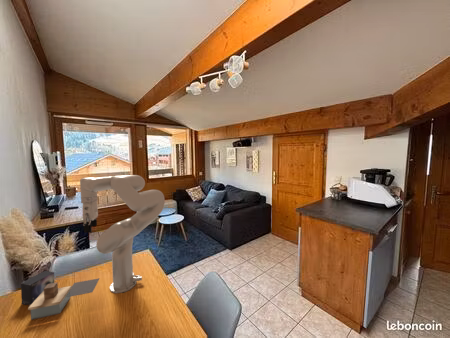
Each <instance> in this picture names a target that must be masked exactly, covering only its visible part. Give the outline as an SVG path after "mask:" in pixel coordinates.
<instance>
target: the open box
mask: <svg viewBox="0 0 450 338" xmlns="http://www.w3.org/2000/svg"><path fill="white" fill-rule="evenodd" d="M69 300H71V297H70V291H69V292H68V293H67V295H66V296H65V298H64V299H63V301H62V302H61V303H60V304H57V305H52V306H47V307H42V308H37V309H32V310H30V320H31V321H32V320H36V319H40V318H41V319H42V318H45V317H51V316H55V315H60V314H61V312H62V311H63V310H64V308H65V306H66V305H67V304H68V302H69Z"/></svg>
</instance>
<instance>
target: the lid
mask: <svg viewBox="0 0 450 338" xmlns="http://www.w3.org/2000/svg"><path fill="white" fill-rule="evenodd" d="M71 287H72V285H69V286H64V287H59V285H58V282H54V283H50V284H48V285H47V286H46V287H45V288H44V291H43V292H42V293H41V294H40V295H39V296H38V298H37V299H36V300H35V301H34V302H33V303H32V304H31V305H28V308H27V311H31V310H32V309H37V308H42V307H47V306H52V305H57V304H60V303H61V302H62V301H63V299H64V298H65V296H66V295H67V293H68V292H69V291H70V289H71Z"/></svg>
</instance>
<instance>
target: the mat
mask: <svg viewBox="0 0 450 338" xmlns="http://www.w3.org/2000/svg"><path fill="white" fill-rule="evenodd" d="M99 280H100V278H99V277H98V278H94V279H89V280H82V281H77V282H73V284H72V285H71V289H70V298H71V297H77V296H79V295H80V296H81V295H85V294H89V293H90V294H92V293H93V292H94V290H95V289H96V286H97V284H98V282H99Z"/></svg>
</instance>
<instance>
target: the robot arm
mask: <svg viewBox="0 0 450 338" xmlns="http://www.w3.org/2000/svg"><path fill="white" fill-rule="evenodd" d="M79 184H80V185H79V187H80V203H81V204H82V221H83V222H82V224H83V232H84V233H91V232H92V227H97V226H98V222H97V219H98V217H99V210H98V209H99V207H98V192H103V191H108V190H112V191H114V192H115V194H116V195H118V197H119V198H120V200H121V201H122V202H123V203H125V205H126V206H127V207H128V208H129V209H130V210H132V211H134V212H136V213H134V214H133V215H132V216H131V217H128V218H126V219H123V220H121V221H118V222H115V223H113V224H111V226H110V227H108V228H107V229H106V230H105V231H103V233H102V234H101V235H100V236H99V237H98V238H97V241H96V244H95V245H96V249H97V251H98V252H99V253H100V254H103V255H107V254H110V253H112V254H111V263H112V264H111V267H112V269H111V270H112V271H111V272H112V283H111V284H110V285H109V291H110V292H111V293H114V294H122V293H126V292H128V291H130V290H131V289H133V288H134V287H136V284H137V281H138V282H139V281H142V280H143V276H142V275H141V274H137V275H135V272H134V269H133V268H134V265H133V263H134V262H133V242H134V237H136V236H137V235H139V234H140V233H141V232H142V231H143V230H144V229H145V228H147V227H148V226H149V225H150V224H151V223H152V222H154V221H155V220H156V219H157V217H159V216H160V214H161V213H162V212H163V210H164V208H165V207H164V206H165V199H166V198H165V195H164V193H163V191H161V190H159V189H149V190H143V189H144V188H145V185H146V181H145V179H144V178H143V176H141V175H138V174H130V175H129V174H125V175H115V176H114V175H113V176H111V175H110V176H101V177H88V176H87V177H83V178H81V179H80V180H79ZM141 190H143V191H141Z"/></svg>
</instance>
